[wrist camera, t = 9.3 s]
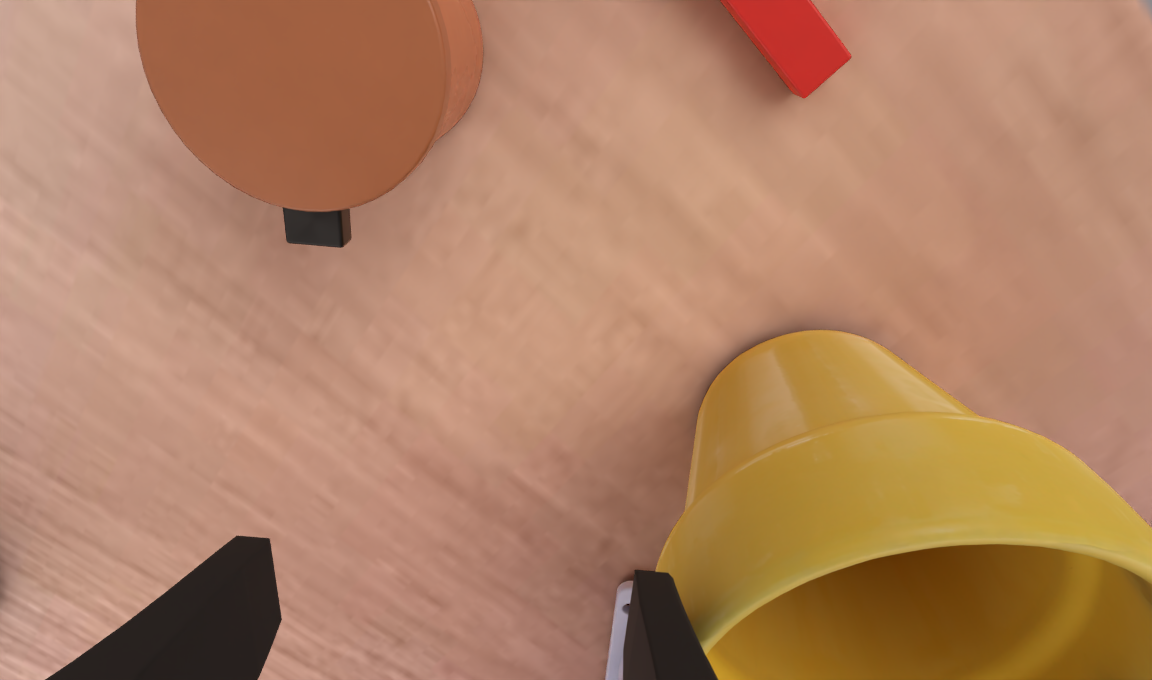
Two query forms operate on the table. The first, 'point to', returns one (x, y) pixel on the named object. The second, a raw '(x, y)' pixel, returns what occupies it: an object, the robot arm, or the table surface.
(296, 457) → the table surface
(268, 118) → the copper pot
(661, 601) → the robot arm
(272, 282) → the table surface
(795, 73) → the red spoon
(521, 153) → the table surface
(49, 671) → the table surface
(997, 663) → the flower pot
